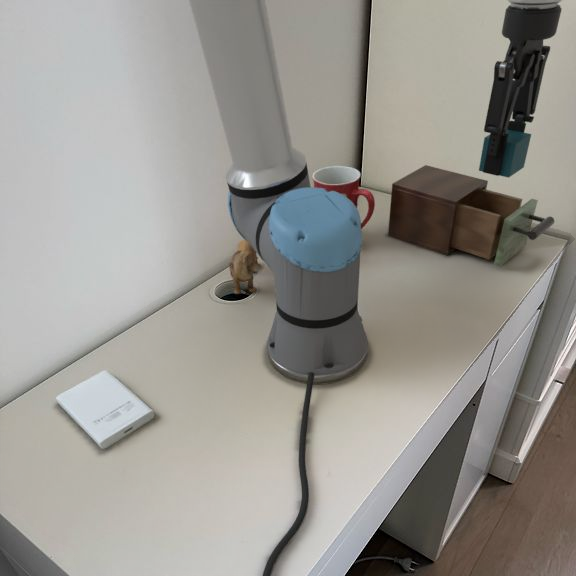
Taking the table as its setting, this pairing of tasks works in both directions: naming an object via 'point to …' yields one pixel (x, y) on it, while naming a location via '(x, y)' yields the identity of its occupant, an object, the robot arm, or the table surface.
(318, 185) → the mug
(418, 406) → the table surface
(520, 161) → the block
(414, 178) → the cabinet
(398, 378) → the table surface
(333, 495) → the table surface
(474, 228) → the drawer
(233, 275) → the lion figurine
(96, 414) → the hard drive
